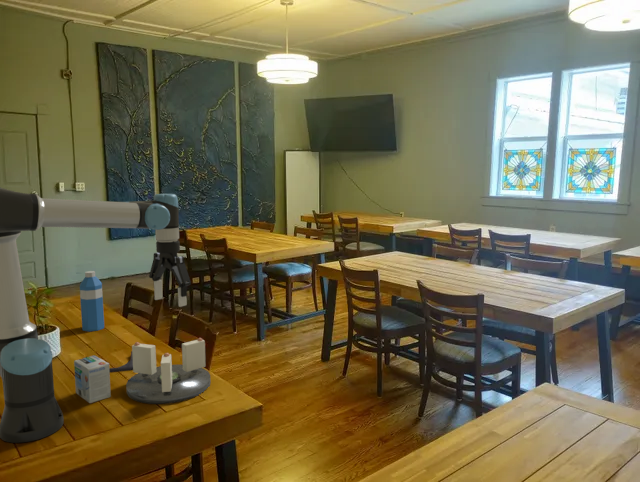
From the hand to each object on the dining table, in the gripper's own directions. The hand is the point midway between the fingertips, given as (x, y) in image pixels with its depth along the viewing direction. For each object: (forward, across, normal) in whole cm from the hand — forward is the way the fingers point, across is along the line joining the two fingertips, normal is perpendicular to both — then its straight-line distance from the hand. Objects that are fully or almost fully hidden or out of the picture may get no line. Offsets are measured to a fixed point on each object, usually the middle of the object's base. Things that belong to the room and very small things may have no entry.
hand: (170, 302), depth 176 cm
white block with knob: (+22, -16, +13) cm, 31 cm away
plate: (+24, -9, +8) cm, 27 cm away
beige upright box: (+22, -10, -1) cm, 24 cm away
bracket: (+25, +18, +4) cm, 31 cm away
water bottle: (+25, +67, -7) cm, 72 cm away
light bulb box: (+25, +3, +27) cm, 37 cm away
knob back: (+22, -1, +11) cm, 25 cm away
